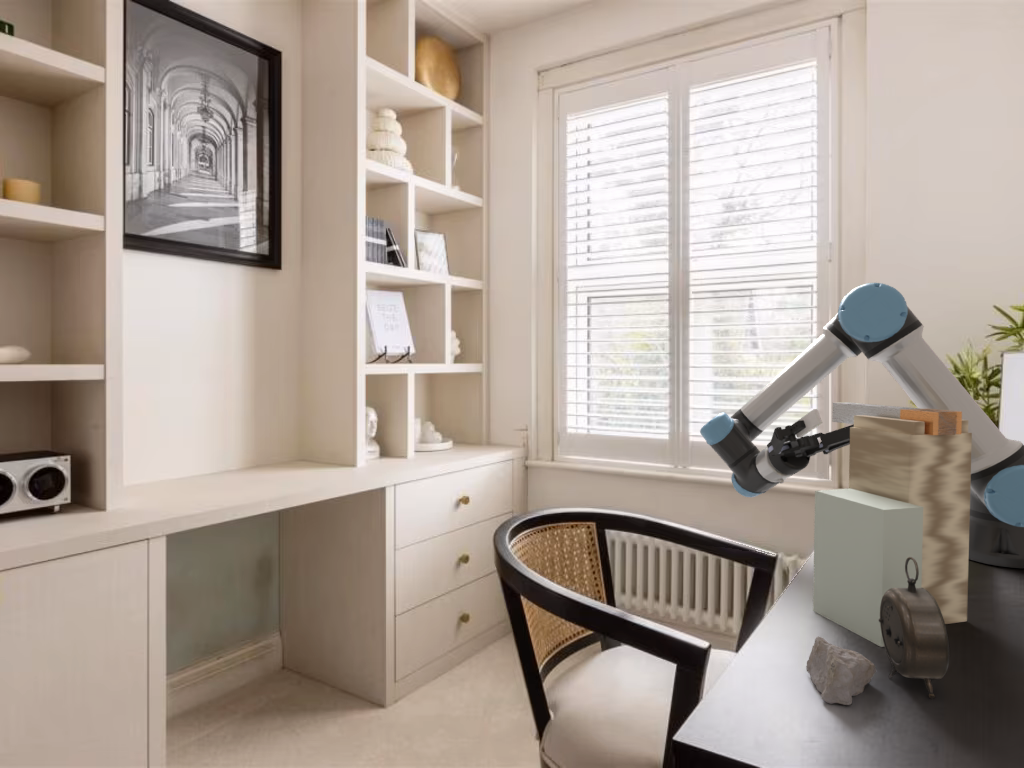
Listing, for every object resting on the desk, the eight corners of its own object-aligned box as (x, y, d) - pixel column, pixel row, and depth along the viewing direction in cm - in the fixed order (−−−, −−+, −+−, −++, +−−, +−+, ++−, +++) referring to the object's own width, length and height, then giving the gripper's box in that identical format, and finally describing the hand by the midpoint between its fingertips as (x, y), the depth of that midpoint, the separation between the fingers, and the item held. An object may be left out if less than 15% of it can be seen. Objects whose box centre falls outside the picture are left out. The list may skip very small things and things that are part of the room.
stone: (884, 717, 76) (885, 668, 76) (808, 703, 79) (808, 656, 79) (873, 679, 85) (874, 635, 85) (806, 667, 88) (806, 625, 88)
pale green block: (848, 606, 109) (850, 488, 109) (920, 641, 96) (923, 506, 95) (813, 610, 108) (815, 490, 107) (881, 646, 94) (884, 509, 93)
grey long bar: (852, 421, 121) (852, 402, 121) (961, 434, 100) (961, 411, 100) (827, 421, 120) (827, 402, 120) (932, 435, 99) (933, 412, 99)
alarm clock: (951, 705, 78) (954, 572, 78) (902, 700, 79) (905, 569, 79) (914, 663, 89) (917, 546, 88) (871, 659, 90) (873, 544, 89)
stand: (903, 594, 115) (907, 413, 113) (966, 621, 103) (972, 420, 102) (846, 601, 112) (850, 415, 110) (905, 629, 100) (910, 422, 99)
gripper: (839, 472, 137) (914, 431, 119) (735, 478, 131) (797, 436, 113) (827, 440, 141) (898, 395, 122) (725, 444, 134) (783, 397, 116)
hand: (850, 414), depth 118 cm, fingers open, 13 cm apart
